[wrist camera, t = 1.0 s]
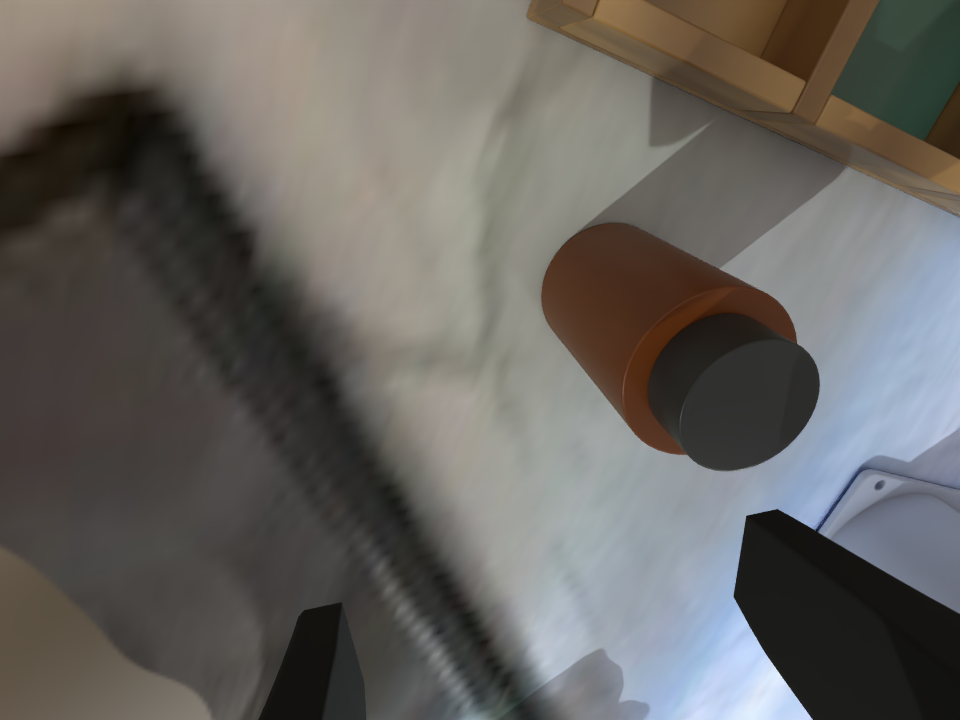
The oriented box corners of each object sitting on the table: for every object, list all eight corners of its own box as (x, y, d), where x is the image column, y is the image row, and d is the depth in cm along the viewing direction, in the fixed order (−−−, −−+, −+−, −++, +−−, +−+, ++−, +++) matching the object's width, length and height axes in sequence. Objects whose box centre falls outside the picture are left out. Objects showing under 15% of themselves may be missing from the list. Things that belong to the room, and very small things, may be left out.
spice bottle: (688, 245, 19) (885, 341, 12) (631, 361, 20) (776, 507, 13) (572, 204, 18) (717, 284, 10) (521, 331, 19) (617, 476, 12)
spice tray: (1172, 33, 19) (1304, 24, 16) (1021, 246, 22) (1114, 268, 19) (648, -353, 12) (727, -472, 10) (525, 17, 15) (561, 3, 12)
